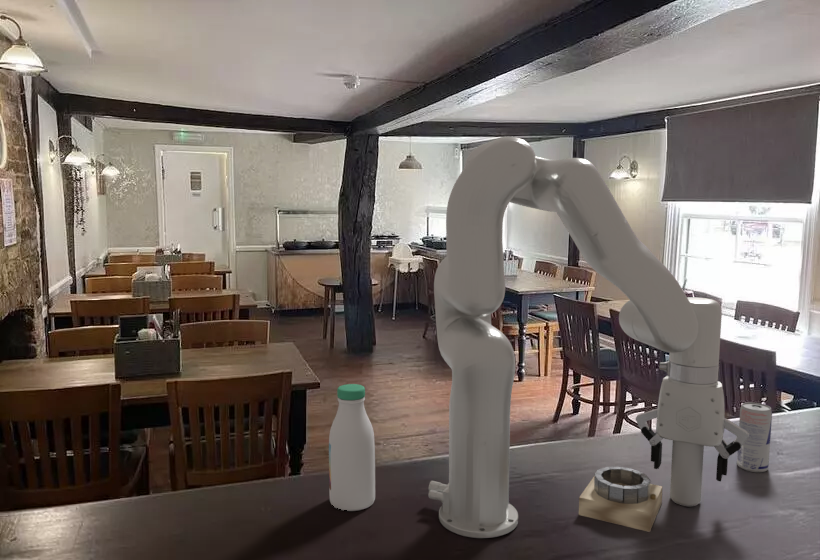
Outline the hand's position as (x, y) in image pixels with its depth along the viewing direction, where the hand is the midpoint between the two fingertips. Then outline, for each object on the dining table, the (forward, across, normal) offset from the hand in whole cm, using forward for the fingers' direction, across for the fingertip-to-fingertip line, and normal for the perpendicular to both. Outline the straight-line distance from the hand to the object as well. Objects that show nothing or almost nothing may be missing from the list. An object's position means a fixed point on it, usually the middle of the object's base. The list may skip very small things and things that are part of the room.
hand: (687, 472), depth 109 cm
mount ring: (+2, -9, -8) cm, 12 cm away
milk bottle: (+6, -49, -28) cm, 57 cm away
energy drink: (+6, +9, +22) cm, 24 cm away
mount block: (+5, -9, -8) cm, 13 cm away
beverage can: (+6, 0, 0) cm, 6 cm away
